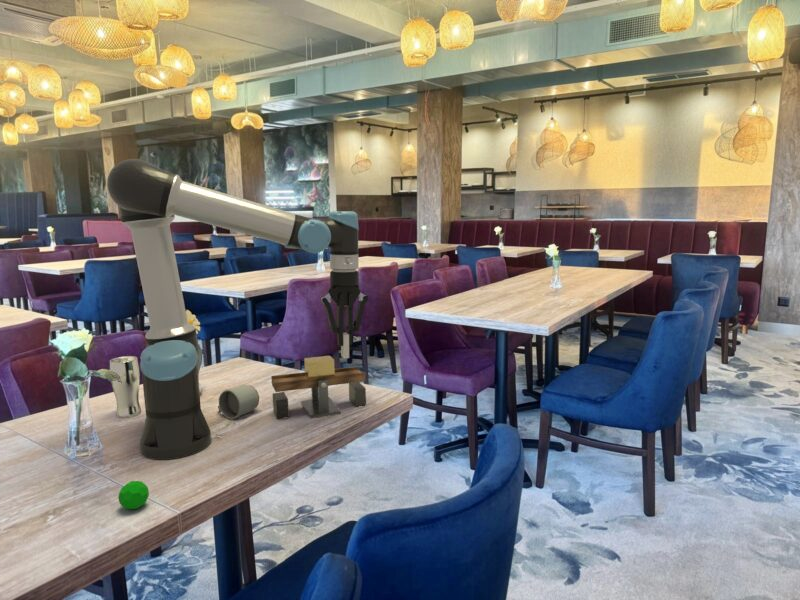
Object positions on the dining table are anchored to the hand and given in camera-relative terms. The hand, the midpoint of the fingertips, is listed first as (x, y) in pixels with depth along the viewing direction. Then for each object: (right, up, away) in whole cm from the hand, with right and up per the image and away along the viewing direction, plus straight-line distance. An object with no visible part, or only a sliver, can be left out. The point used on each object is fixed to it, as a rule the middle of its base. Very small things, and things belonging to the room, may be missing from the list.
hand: (345, 357), depth 151 cm
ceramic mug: (-29, -15, -3) cm, 32 cm away
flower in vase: (-48, -13, +12) cm, 51 cm away
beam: (-7, -6, -2) cm, 9 cm away
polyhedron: (-34, -23, -49) cm, 64 cm away
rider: (-7, -5, -2) cm, 9 cm away
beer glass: (-58, -15, -2) cm, 60 cm away
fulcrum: (-7, -14, 0) cm, 15 cm away
